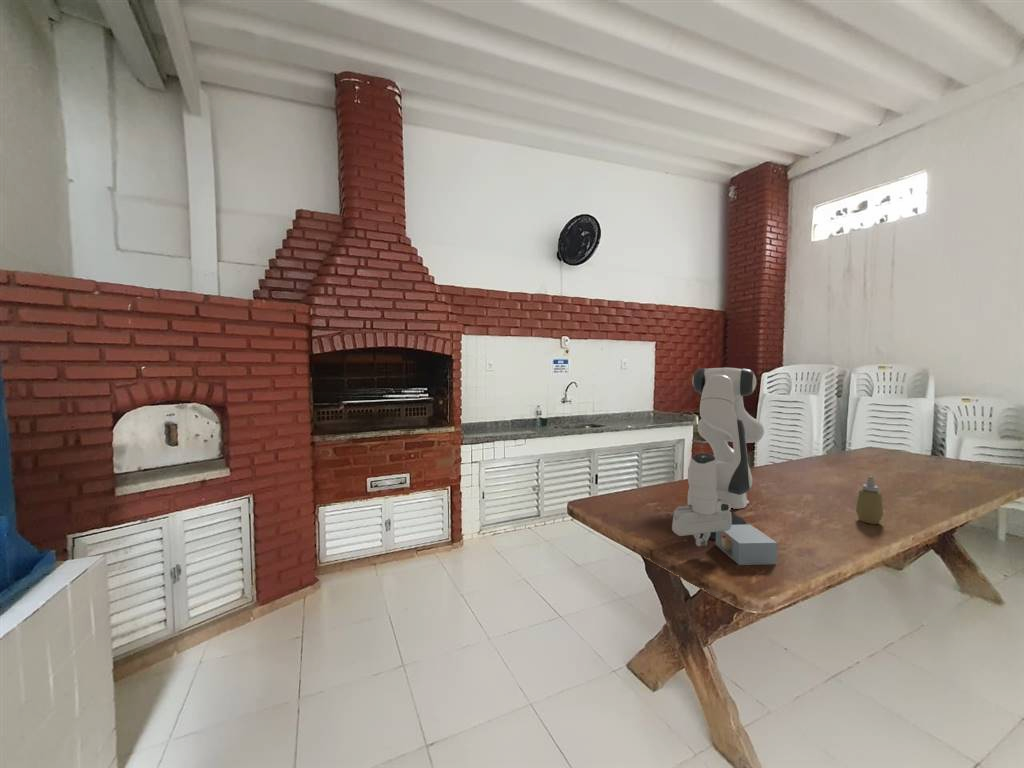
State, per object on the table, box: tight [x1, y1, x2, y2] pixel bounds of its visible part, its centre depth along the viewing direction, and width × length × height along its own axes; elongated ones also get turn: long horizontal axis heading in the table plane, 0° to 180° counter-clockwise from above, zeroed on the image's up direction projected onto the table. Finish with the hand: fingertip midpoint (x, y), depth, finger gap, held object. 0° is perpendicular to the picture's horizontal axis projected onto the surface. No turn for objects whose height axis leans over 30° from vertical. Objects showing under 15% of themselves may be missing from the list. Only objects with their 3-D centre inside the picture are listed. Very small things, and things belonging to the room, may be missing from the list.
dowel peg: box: [722, 538, 731, 551], centre depth 134 cm, size 4×12×4 cm, turn 91°
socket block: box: [715, 524, 778, 566], centre depth 134 cm, size 14×12×7 cm
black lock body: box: [701, 511, 746, 542], centre depth 154 cm, size 15×22×5 cm
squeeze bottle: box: [855, 475, 884, 525], centre depth 159 cm, size 8×8×18 cm
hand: (701, 545), depth 134 cm, fingers closed
